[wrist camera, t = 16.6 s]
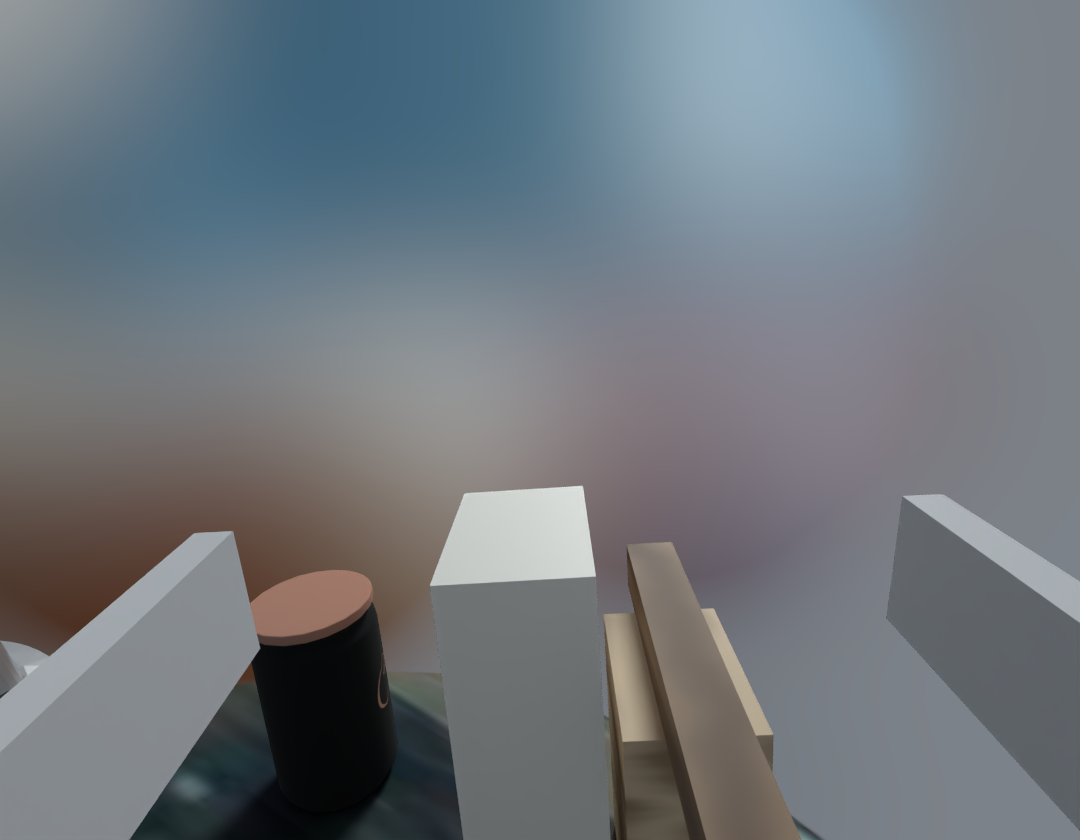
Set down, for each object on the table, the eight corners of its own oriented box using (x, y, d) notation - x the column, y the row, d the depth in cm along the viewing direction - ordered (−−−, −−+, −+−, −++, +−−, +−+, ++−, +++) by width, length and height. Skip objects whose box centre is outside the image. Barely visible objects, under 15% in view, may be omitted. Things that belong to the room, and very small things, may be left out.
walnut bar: (716, 949, 22) (716, 876, 21) (628, 584, 47) (626, 544, 46) (811, 946, 22) (815, 872, 21) (672, 582, 47) (671, 541, 46)
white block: (488, 1027, 36) (429, 585, 29) (503, 841, 48) (464, 493, 40) (620, 1023, 36) (595, 576, 28) (603, 837, 47) (582, 485, 40)
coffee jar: (416, 777, 54) (389, 603, 50) (295, 843, 49) (252, 654, 44) (378, 711, 63) (352, 557, 59) (271, 761, 58) (233, 596, 53)
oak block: (634, 1002, 37) (622, 741, 32) (614, 825, 48) (603, 614, 43) (765, 998, 36) (773, 734, 32) (713, 821, 48) (713, 608, 43)
